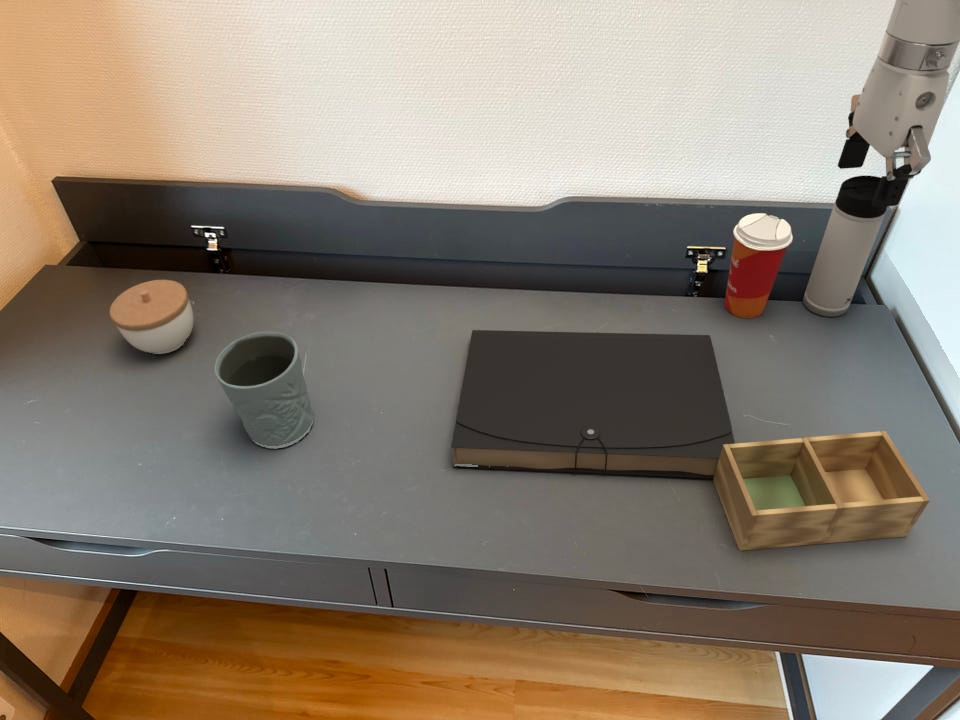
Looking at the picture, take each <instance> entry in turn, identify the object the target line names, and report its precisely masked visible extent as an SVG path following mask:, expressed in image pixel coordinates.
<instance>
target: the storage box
mask: <svg viewBox="0 0 960 720" xmlns="http://www.w3.org/2000/svg"><path fill="white" fill-rule="evenodd" d="M712 479H713V480H712V482H713V485H714V487H715V489H716V492H717V495H718V498H719V499H720V503H721V506H722V509H723V511H724V514H725V516H726V519H727V522H728V524H729V527H730V529H731V532H732V535H733V538H734V540H735V543H736V546H737V548H738V551H739V552H741V551H753V550H766V549H777V548H788V547H789V548H790V547H799V546H800V547H801V546H810V545H823V544H835V543H847V542H857V541H858V542H859V541H871V540H880V539H881V540H882V539H893V538H894V539H895V538H905V537H908V536H909V534H910V533H911V531H912V529H913V527H914V526H915V525H916V523H917V521H918V520H919V518H920V517H921V515H922V514H923V512H924V511H925V509H926V507H927V506H928V504H929V503H930V501H931V500H930V497H929V496H928V495H927V493H926V492H925V490H924V489H923V487H922V485H921V484H920V482H919V481H918V479H917V478H916V476H915V474H914V473H913V472H912V470H911V469H910V467H909V465H908V463H907V462H906V461H905V459H904V458H903V456H902V454H901V453H900V451H899V450H898V447H896V445H895V443H894V441H892V439H891V437H890V436H889V434H888V433H887V431H886V430H881V431H878V430H877V431H868V432H857V433H856V432H855V433H844V434H843V433H842V434H832V435H822V436H821V435H820V436H808V437H797V438H795V437H794V438H784V439H773V440H772V439H771V440H761V441H750V442H738V443H736V442H735V444H723V447H722V450H721V454H720V457H719V461H718V465H717V468H716V472H715V475H714V478H712Z"/></svg>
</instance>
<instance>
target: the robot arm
mask: <svg viewBox="0 0 960 720" xmlns="http://www.w3.org/2000/svg"><path fill="white" fill-rule="evenodd" d="M959 45H960V0H895V3H894V6H893V8H892V11H891V14H890V17H889V20H888V23H887V26H886V29H885V32H884V35H883V38H882V40H881V44H880V47H879V49H878V52H877V55H876V58H875V61H874V62H873V65H872V66H871V69H870V71H869V73H868V76H867V78H866V80H865V83H864V85H863V87H862V90H861V92H860V93H859V94H853V95H852V96H851V99H850V113H849V114H848V116H847V120H848V128H847V129H846V130H845V137H846V139H845V142H844V145H843V148H842V150H841V154H840V156H839V160H838V163H837V167H838V168H839V169H840V170H843V169H858V168H859V169H860V168H862V167H864V163H865V161H866V157H867V155H868V152H869V150H870V146H871V147H872V148H873V149H874V150H875V151H876V152H877V153H878V154H879V155H880V156H881V157H883V158H885V175H884V176H883V175H882V176H881V177H880V178H881V180H880V182H879V185H878V187H877V190H876V193H875V195H874V198H873V200H872V205H873V206H874V207H885V206H887V207H896V206H898V205H899V203H900V202H901V200H902V197H903V195H904V192H905V190H906V187H907V185H908V182H909V181H910V180H912V179H914V177H915V176H918V175H920V174H921V172H922V170H923V169H924V168H925V167H926V166H927V165H928V164H929V163H930V162H931V160H932V155H931V153H930V150H929V145H930V142H931V140H932V137H933V134H934V132H935V130H936V128H937V127H936V126H937V123H938V121H939V118H940V114H941V111H942V109H943V107H944V102H945V97H946V95H947V89H948V87H949V86H948V85H949V80H950V73H949V72H948V70H949V69H950V67H951V64H952V61H953V59H954V57H955V55H956V52H957V49H958V47H959ZM900 149H904V151H898V150H900ZM899 159H903V165H901V166H899V167H897V160H899Z"/></svg>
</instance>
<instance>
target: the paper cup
mask: <svg viewBox="0 0 960 720" xmlns="http://www.w3.org/2000/svg"><path fill="white" fill-rule="evenodd" d="M733 236H734V240H733V247H732V253H731V259H730V265H729V272H728V279H727V285H726V290H725V291H726V292H725V300H724V307H725V310H726V311H728V312H729V314H731V315H733V316H735V317H738V318H741V319H753V318H757V317H759V316H761V315H762V314H763V312H764V310H765V308H766V306H767V303H768V300H769V297H770V296H771V295H770V294H771V292H772V289H773V286H774V284H775V281H776V278H777V276H778V273H779V270H780V268H781V265H782V262H783V260H784V257H785V254H786V252H787V249H788V246H790V244H792V243H793V238H794V237H793V233H792V227H791V225H790V223H789V222H787V220H785V219H783V218H781V219H780V218H779V217H778V216H774V215H772V214H770V215H768V214H767V213H765V212H764V213H763V212H760V213H757V212H756V213H751V214H747V215H745V216H743V217H742V218H740V220H739V221H738V223H737V224H736V225H735V227H734V228H733Z"/></svg>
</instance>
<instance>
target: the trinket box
mask: <svg viewBox="0 0 960 720" xmlns="http://www.w3.org/2000/svg"><path fill="white" fill-rule="evenodd" d="M109 316H110V319H111V321H112V322H113V324H114V326H115V327H116V328H117V330H118V331H119V333H120V334H121V336H122V337H123V339H125V341H127V343H129V345H131V346H132V347H134V348H135V349H137V350H139V351H141V352H144V353H148V352H149V354H151V353H158V352H164V351H168V350H171V349H173V348H175V347H177V346H179V345H180V344H182V343H183V342H184V341H185V340H186V339H187V338H188V339H189V337H190V335H191V334H192V331H193V328H194V323H195V322H194V321H195V317H194V310H193V307H192V303H191V301H190V299H189V294H188V291H187V289H186V288H185V286H184V285H182V284H181V283H180V282H178V281H175V280H171V279H154V280H149V281H145V282H141V283H139V284H136V285H134V286H132V287H129V288H128V289H126V290H125V291H122V292H121V293H120V294H119V295H118V296H117V297H116V298H115V299H114V301H112V304H111V305H110V307H109ZM188 339H187V340H188Z"/></svg>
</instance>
